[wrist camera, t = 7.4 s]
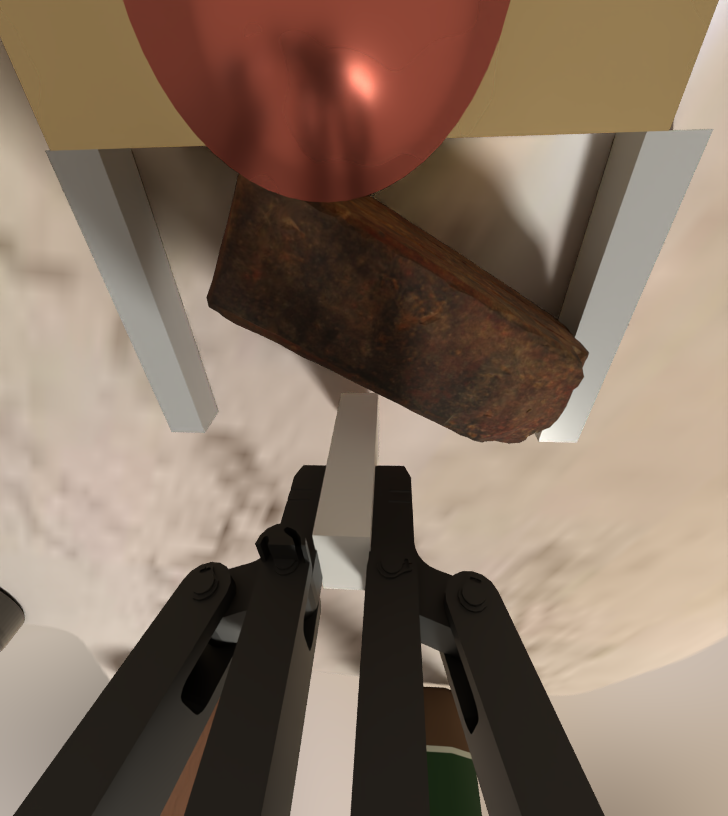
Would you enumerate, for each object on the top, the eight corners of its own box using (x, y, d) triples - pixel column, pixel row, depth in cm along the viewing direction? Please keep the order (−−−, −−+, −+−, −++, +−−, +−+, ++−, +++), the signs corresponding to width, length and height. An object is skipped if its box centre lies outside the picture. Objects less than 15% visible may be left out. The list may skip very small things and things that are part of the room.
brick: (253, 262, 13) (194, 313, 9) (294, 141, 11) (241, 144, 7) (487, 391, 15) (517, 473, 12) (560, 315, 13) (624, 386, 10)
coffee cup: (249, 719, 49) (214, 861, 39) (175, 699, 46) (116, 849, 36) (285, 703, 43) (254, 863, 34) (203, 679, 40) (144, 849, 31)
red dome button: (185, 173, 11) (-24, 209, 6) (126, -47, 9) (-378, -392, 3) (552, 164, 10) (735, 194, 5) (610, -82, 8) (1154, -634, 2)
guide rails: (187, 411, 17) (171, 432, 16) (83, 149, 11) (45, 150, 10) (563, 419, 16) (577, 442, 15) (674, 130, 10) (713, 128, 9)
